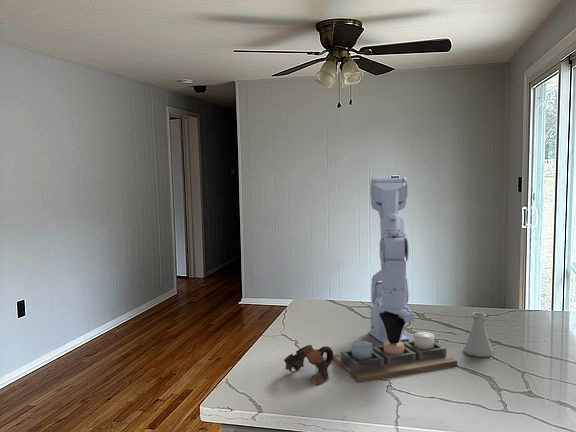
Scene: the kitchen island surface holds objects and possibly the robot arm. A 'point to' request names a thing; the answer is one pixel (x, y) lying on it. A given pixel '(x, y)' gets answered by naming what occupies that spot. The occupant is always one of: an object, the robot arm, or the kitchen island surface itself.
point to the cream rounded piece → (424, 341)
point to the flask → (478, 338)
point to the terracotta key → (393, 348)
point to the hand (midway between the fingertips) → (393, 342)
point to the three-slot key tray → (394, 362)
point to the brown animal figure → (311, 361)
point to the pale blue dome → (361, 350)
